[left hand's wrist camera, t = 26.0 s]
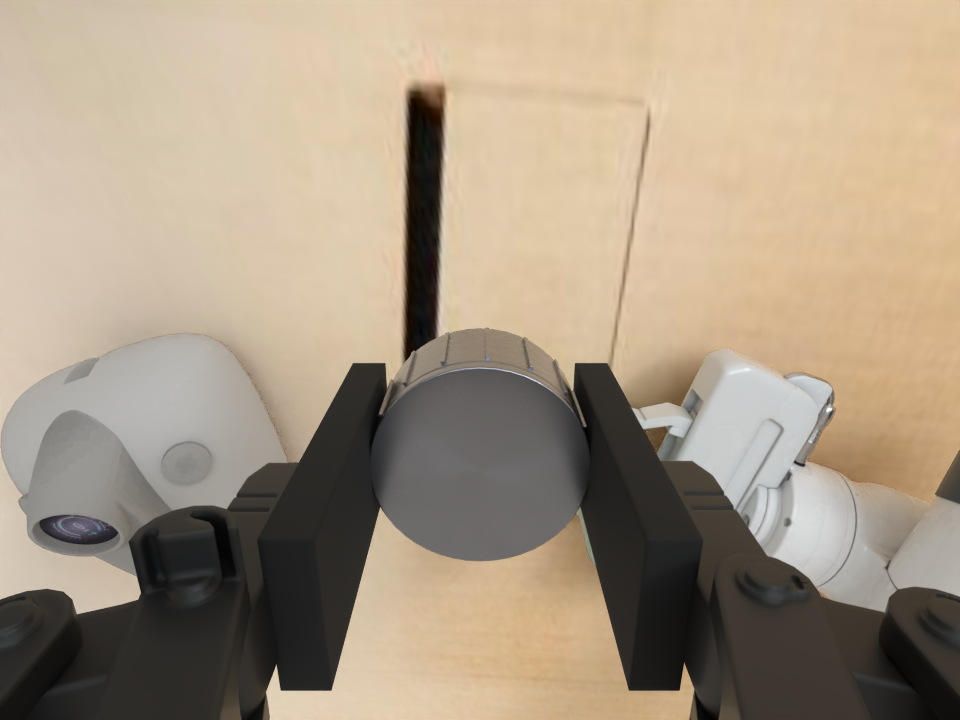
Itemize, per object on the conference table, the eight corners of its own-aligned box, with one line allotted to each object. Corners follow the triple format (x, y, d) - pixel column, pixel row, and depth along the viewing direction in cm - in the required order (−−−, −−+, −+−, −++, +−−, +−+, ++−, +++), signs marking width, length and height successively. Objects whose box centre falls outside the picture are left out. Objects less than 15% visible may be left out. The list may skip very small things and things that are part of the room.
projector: (35, 517, 50) (-132, 662, 37) (81, 266, 43) (-107, 330, 29) (291, 599, 53) (226, 760, 40) (376, 377, 46) (331, 482, 32)
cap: (614, 401, 14) (640, 452, 12) (496, 528, 16) (499, 596, 13) (461, 287, 13) (457, 319, 11) (348, 432, 15) (324, 488, 12)
